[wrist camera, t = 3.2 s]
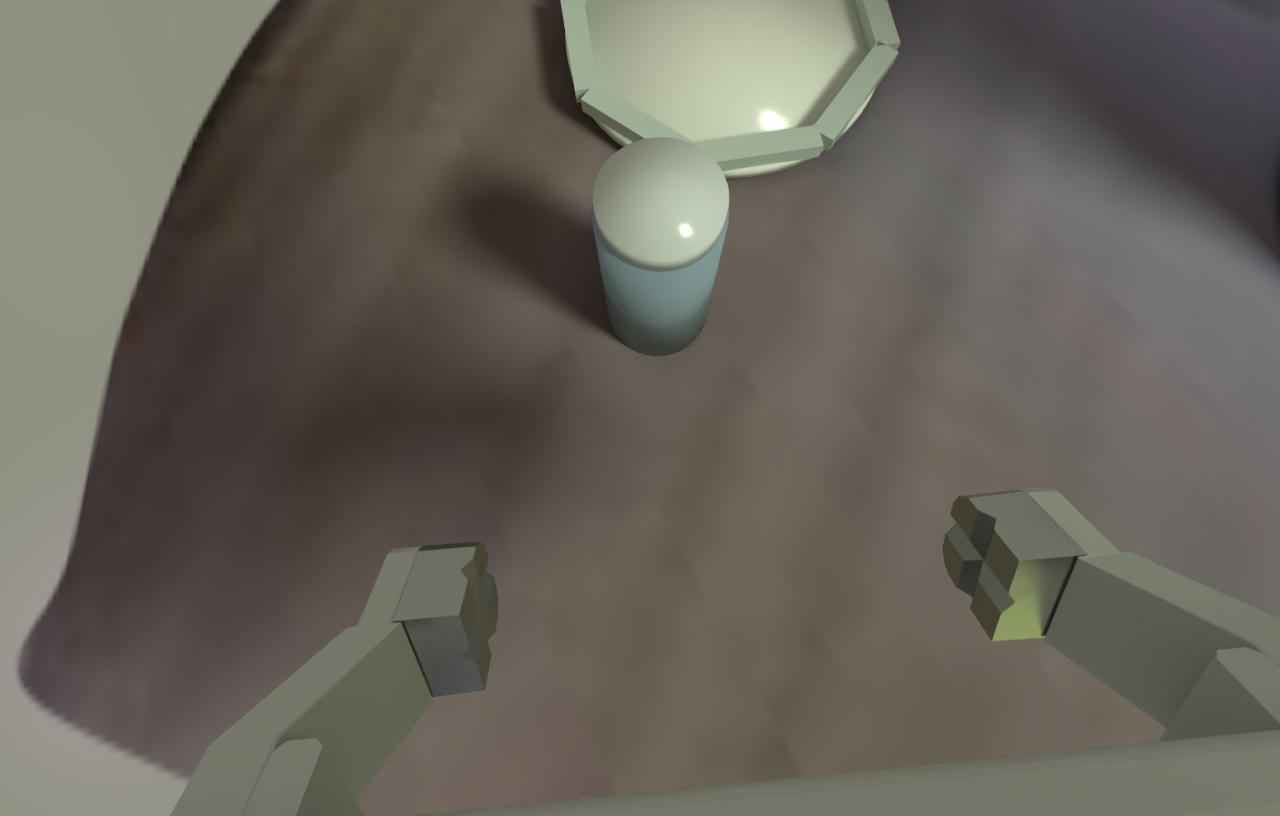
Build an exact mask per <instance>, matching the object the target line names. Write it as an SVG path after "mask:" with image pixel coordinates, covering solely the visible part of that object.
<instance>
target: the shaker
mask: <svg viewBox="0 0 1280 816" xmlns="http://www.w3.org/2000/svg"><path fill="white" fill-rule="evenodd" d="M728 205H729V191H728V185H727V182H726V178H725V176H724V174H723V172H722V170H721V168H720V167H719V165H718V164H717V163H716V162H715V160H714V159H713V158H712V157H711V156H710V155H709V154H708V153H706V152H705V151H704V150H702V149H701V148H699V147H697V146H695V145H694V144H691V143H689V142H686V141H684V140H680V139H676V138H669V137H654V138H647V139H642V140H639V141H636V142H633V143H631V144H629V145H626V146H625V147H623V148H621V149H620V150H618V151H617V152H616V153H614V154H613V155H612V156H611V157H610V158H609V159H608V160H607V161H606V162H605V164H604V165H603V167H602V168H601V170H600V172H599V174H598V175H597V178H596V181H595V184H594V189H593V205H592V223H593V229H594V235H595V240H596V246H597V252H598V258H599V264H600V270H601V275H602V281H603V287H604V293H605V299H606V305H607V310H608V316H609V321H610V324H611V327H612V329H613V331H614V333H615V334H616V336H617V337H618V338H619V339H620V340H621V341H622V342H623V343H624V344H625V345H626V346H628V347H629V348H631V349H632V350H634V351H637V352H639V353H642V354H645V355H651V356H663V355H669V354H673V353H676V352H678V351H680V350H682V349H684V348H686V347H687V346H688V345H690V344H691V343H692V342H693V341H694V340H695V339H696V338H697V336H698V335H699V333H700V332H701V330H702V328H703V326H704V323H705V319H706V315H707V311H708V307H709V303H710V298H711V294H712V290H713V286H714V281H715V277H716V273H717V269H718V265H719V260H720V256H721V252H722V248H723V243H724V239H725V235H726V231H727V226H728V220H729V207H728Z"/></svg>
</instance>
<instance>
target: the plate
mask: <svg viewBox="0 0 1280 816" xmlns="http://www.w3.org/2000/svg"><path fill="white" fill-rule="evenodd" d="M560 1H561V7H562V13H563V19H564V26H565V40H566V52H567V59H568V64H569V69H570V73H571V77H572V81H573V83H574V88H575V94H576V101H577V103H579V102H581V104H582V111H583V112H585V113H587V114H588V115H590V116H591V117H592V118H593V119H594V120H595V121H596V123H597V124H598V125H599V126H600V128H601V129H603V130H604V131H605V132H606V133H607V134H608V135H609V136H610V137H611V138H612V139H613V140H614V141H616V142H617V143H618V144H620V145H621V146H622V147H625V146H626V145H629V144H631V143H633V142H636V141H639V140H642V139H647V138H654V137H669V138H676V139H680V140H684V141H686V142H689V143H691V144H694V145H695V146H697V147H699V148H701V149H702V150H704V151H705V152H706V153H708V154H709V155H710V156H711V157H712V158H713V159H714V160H715V162H716V163H717V164H718V165H719V167H720V168H721V170H722V172H723V174H724V176H725V178H726V179H741V178H752V177H758V176H763V175H768V174H772V173H777V172H780V171H783V170H785V169H788V168H791V167H794V166H797V165H799V164H801V163H803V162H805V161H807V160H809V159H811V158H815V157H819V156H820V153H821V152H823V151H824V150H827V151H829V150H830V149H831V147H832V146H833V145H834V143H835V142H836V141H837V140H839V139H840V138H841V137H842V136H843V135H844V134H845V133H846V132H847V131H848V130H849V129H850V128H851V127H852V125H853V124H854V123H855V122H856V121H857V120H858V118H859V117H860V115H861V114H862V112H863V110H864V109H865V107H866V106H867V104H868V102H869V100H870V98H871V96H872V94H873V92H874V90H875V88H876V87H877V85H878V84H879V83H880V81H881V80H882V79H883V77H884V76H885V75H886V73H887V72H888V70H889V69H890V68H891V66H892V65H893V63H894V61H895V59H896V57H897V55H898V53H899V52H898V51H897V49H898V47H899V45H900V43H901V42H900V39H899V36H898V33H897V30H896V27H895V23H894V20H893V17H892V14H891V11H890V8H889V5H888V1H887V0H560Z"/></svg>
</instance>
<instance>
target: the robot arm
mask: <svg viewBox="0 0 1280 816" xmlns="http://www.w3.org/2000/svg"><path fill="white" fill-rule="evenodd" d="M951 516H952V517H953V518H954V520H955V521H956V524H955V525H954V526H953V527H952V528H951V529H950V530H949V531H948V532H947V533H946V534H945V539H944V544H943V555H944V563H945V566H946V569H947V571H948V574H949V576H950V578H951V579H952V581H953V582H954V584H955V586H956V587H957V588H958V589H960V590H962V591H963V592H965V593H967V594H968V595H970V596H972V602H971V607H970V609H971V610H972V612H973V613H974V615H975V616H976V618H977V619H978V621H979V622H980V624H981V626H982V627H983V629H984V630H985V632H986V633H987V635H988V636H989V638H990V639H991V641H1003V640H1017V639H1031V638H1045V639H1044V641H1046V642H1047V643H1049V644H1050V645H1051V646H1053V647H1054V648H1056V649H1057V650H1058V651H1060V652H1061V653H1063V654H1064V655H1065V656H1067V657H1068V658H1069V659H1071V660H1072V661H1074V662H1075V663H1076V664H1078V665H1079V666H1081V667H1082V668H1083V669H1085V670H1086V671H1088V672H1089V673H1090V674H1092V675H1093V676H1095V677H1096V678H1097V679H1099V680H1100V681H1102V682H1103V683H1104V684H1106V685H1107V686H1109V687H1110V688H1111V689H1113V690H1114V691H1116V692H1117V693H1118V694H1120V695H1121V696H1122V697H1124V698H1125V699H1127V700H1128V701H1129V702H1131V703H1132V704H1134V705H1135V706H1136V707H1138V708H1139V709H1141V710H1142V711H1143V712H1145V713H1146V714H1148V715H1149V716H1150V717H1152V718H1153V719H1155V720H1156V721H1157V722H1159V723H1160V724H1162V725H1163V726H1164V727H1166V728H1167V729H1166V731H1165V733H1164V734H1163V736H1162V737H1161V739H1160V740H1159V741H1157V742H1147V743H1137V744H1127V745H1116V746H1106V747H1096V748H1086V749H1076V750H1066V751H1056V752H1046V753H1036V754H1026V755H1016V756H1006V757H996V758H986V759H976V760H965V761H955V762H945V763H935V764H925V765H915V766H905V767H895V768H885V769H875V770H865V771H855V772H845V773H835V774H825V775H815V776H805V777H795V778H784V779H774V780H764V781H754V782H744V783H734V784H724V785H714V786H703V787H693V788H683V789H673V790H663V791H653V792H643V793H632V794H622V795H612V796H602V797H592V798H582V799H572V800H562V801H551V802H541V803H531V804H521V805H511V806H501V807H491V808H481V809H470V810H460V811H450V812H440V813H430V814H420V815H410V816H1280V619H1279V618H1276V617H1274V616H1272V615H1270V614H1267V613H1265V612H1263V611H1261V610H1258V609H1256V608H1254V607H1252V606H1250V605H1247V604H1245V603H1243V602H1241V601H1238V600H1236V599H1234V598H1232V597H1229V596H1227V595H1225V594H1223V593H1221V592H1218V591H1216V590H1214V589H1212V588H1209V587H1207V586H1205V585H1203V584H1200V583H1198V582H1196V581H1194V580H1191V579H1189V578H1187V577H1185V576H1183V575H1180V574H1178V573H1176V572H1174V571H1171V570H1169V569H1167V568H1165V567H1162V566H1160V565H1158V564H1156V563H1153V562H1151V561H1149V560H1147V559H1145V558H1142V557H1140V556H1138V555H1136V554H1133V553H1131V552H1125V553H1120V552H1119V551H1118V550H1117V549H1116V548H1115V547H1114V546H1113V545H1112V544H1111V543H1110V542H1109V541H1108V540H1107V539H1106V538H1105V537H1104V536H1103V535H1102V534H1101V533H1100V532H1099V531H1098V530H1097V529H1096V528H1095V527H1094V526H1093V525H1092V524H1091V523H1090V522H1089V521H1088V520H1087V519H1086V518H1085V517H1084V516H1082V515H1081V514H1080V513H1079V512H1078V511H1077V510H1076V509H1075V508H1074V507H1073V506H1072V505H1071V504H1070V503H1069V502H1068V501H1067V500H1066V499H1065V498H1064V497H1063V496H1062V495H1061V494H1060V493H1059V492H1058V491H1057V490H1055V489H1053V488H1050V487H1048V486H1046V487H1037V488H1028V489H1019V490H1017V491H1004V492H994V493H984V494H975V495H965V496H958V498H957V499H956V500H955V501H954V503H953V506H952V510H951ZM487 562H488V556H487V553H486V550H485V546H484V544H483V543H481V542H470V543H456V544H442V545H428V546H422V547H408V548H393V549H392V550H391V551H390V552H389V553H388V554H387V555H386V558H385V560H384V563H383V565H382V567H381V570H380V572H379V574H378V577H377V579H376V582H375V584H374V586H373V589H372V591H371V594H370V596H369V598H368V601H367V603H366V605H365V608H364V610H363V613H362V615H361V617H360V620H359V622H358V625H357V626H354V627H347V628H346V629H345V630H344V631H343V632H342V633H340V634H339V635H338V636H337V637H336V638H335V639H333V640H332V641H331V642H330V643H329V644H328V645H326V646H325V647H324V648H323V649H322V650H320V651H319V652H318V653H317V654H316V655H315V656H313V657H312V658H311V659H310V660H309V661H308V662H306V663H305V664H304V665H303V666H302V667H301V668H299V669H298V670H297V671H296V672H295V673H294V674H292V675H291V676H290V677H289V678H288V679H287V680H285V681H284V682H283V683H282V684H281V685H280V686H278V687H277V688H276V689H275V690H274V691H272V692H271V693H270V694H269V695H268V696H267V697H265V698H264V699H263V700H262V701H261V702H260V703H258V704H257V705H256V706H255V707H254V708H253V709H251V710H250V711H249V712H248V713H247V714H246V715H244V716H243V717H242V718H241V719H240V720H239V721H237V722H236V723H235V724H234V725H233V726H231V727H230V728H229V729H228V730H227V731H226V732H224V733H223V734H222V735H221V736H220V737H219V738H217V739H216V740H215V741H214V742H213V743H212V744H210V745H209V747H208V749H207V751H206V752H205V754H204V756H203V758H202V760H201V761H200V763H199V765H198V767H197V769H196V770H195V772H194V774H193V776H192V778H191V779H190V781H189V783H188V785H187V787H186V788H185V790H184V792H183V794H182V795H181V797H180V799H179V801H178V803H177V804H176V806H175V808H174V810H173V812H172V813H171V815H170V816H365V815H364V813H363V812H362V810H361V808H360V807H359V805H358V803H357V802H356V800H357V799H358V797H359V796H360V795H361V793H362V792H363V791H364V790H365V788H366V787H367V786H368V784H369V783H370V782H371V780H372V779H373V778H374V776H375V775H376V774H377V773H378V771H379V770H380V769H381V767H382V766H383V765H384V763H385V762H386V761H387V760H388V758H389V757H390V756H391V754H392V753H393V752H394V750H395V749H396V748H397V747H398V745H399V744H400V743H401V741H402V740H403V739H404V737H405V736H406V735H407V733H408V732H409V731H410V730H411V728H412V727H413V726H414V724H415V723H416V722H417V720H418V719H419V718H420V717H421V715H422V714H423V713H424V711H425V710H426V709H427V707H428V706H429V705H430V704H431V702H432V701H433V698H432V697H437V696H445V695H453V694H461V693H469V692H477V691H484V690H485V687H486V682H487V676H488V671H489V665H490V660H491V652H490V648H489V645H488V642H487V641H488V639H489V638H490V637H491V636H492V635H493V634H494V633H495V632H496V625H497V619H498V596H497V588H496V584H495V580H494V577H493V576H492V575H490V574H489V573H488V572H486V567H487Z"/></svg>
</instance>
